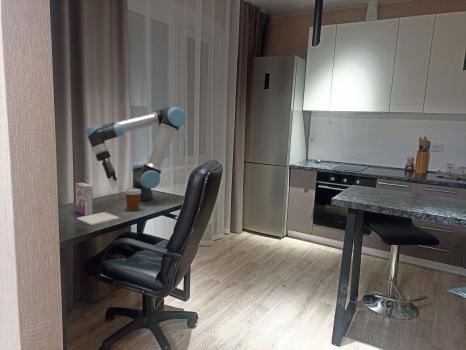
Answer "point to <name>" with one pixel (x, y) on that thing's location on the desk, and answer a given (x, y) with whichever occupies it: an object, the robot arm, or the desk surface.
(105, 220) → the rubber mat
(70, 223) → the desk surface
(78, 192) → the candy bar box
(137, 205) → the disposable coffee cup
